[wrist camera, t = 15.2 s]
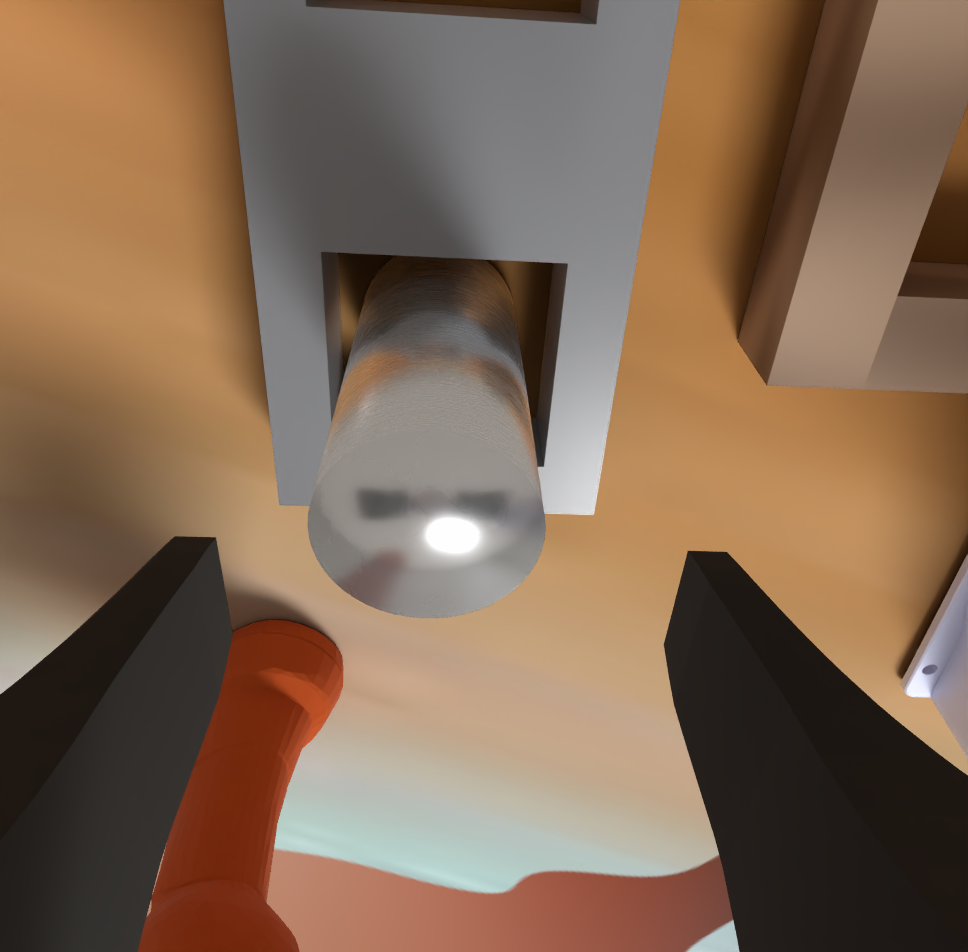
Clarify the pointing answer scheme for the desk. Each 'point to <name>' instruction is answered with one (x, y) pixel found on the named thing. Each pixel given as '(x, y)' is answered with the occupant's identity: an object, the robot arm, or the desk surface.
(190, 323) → the desk surface
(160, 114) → the desk surface
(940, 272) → the socket block
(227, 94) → the desk surface
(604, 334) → the rack
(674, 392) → the desk surface
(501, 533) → the shiny metal cylinder
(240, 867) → the toy drill
